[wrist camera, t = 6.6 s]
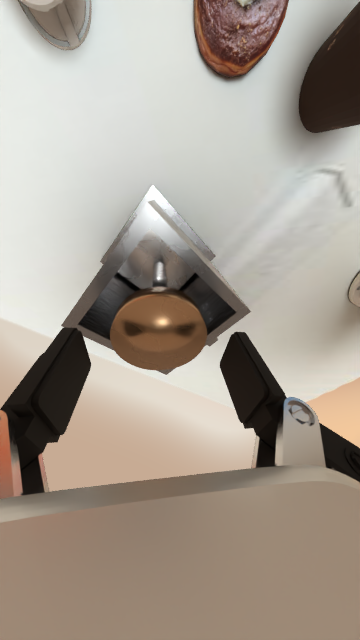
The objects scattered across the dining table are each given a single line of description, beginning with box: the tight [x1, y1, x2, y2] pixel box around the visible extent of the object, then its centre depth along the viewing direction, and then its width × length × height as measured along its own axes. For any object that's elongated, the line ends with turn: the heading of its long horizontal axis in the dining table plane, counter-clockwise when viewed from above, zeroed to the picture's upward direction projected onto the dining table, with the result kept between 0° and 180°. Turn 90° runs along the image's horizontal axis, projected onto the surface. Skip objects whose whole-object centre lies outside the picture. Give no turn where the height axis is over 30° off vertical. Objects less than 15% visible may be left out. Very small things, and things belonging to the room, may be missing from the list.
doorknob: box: [110, 229, 207, 370], centre depth 16 cm, size 8×8×14 cm
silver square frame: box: [61, 185, 251, 375], centre depth 19 cm, size 13×12×16 cm
